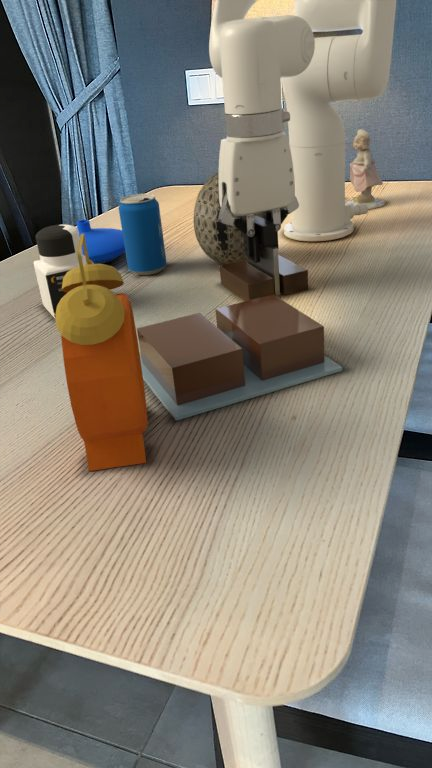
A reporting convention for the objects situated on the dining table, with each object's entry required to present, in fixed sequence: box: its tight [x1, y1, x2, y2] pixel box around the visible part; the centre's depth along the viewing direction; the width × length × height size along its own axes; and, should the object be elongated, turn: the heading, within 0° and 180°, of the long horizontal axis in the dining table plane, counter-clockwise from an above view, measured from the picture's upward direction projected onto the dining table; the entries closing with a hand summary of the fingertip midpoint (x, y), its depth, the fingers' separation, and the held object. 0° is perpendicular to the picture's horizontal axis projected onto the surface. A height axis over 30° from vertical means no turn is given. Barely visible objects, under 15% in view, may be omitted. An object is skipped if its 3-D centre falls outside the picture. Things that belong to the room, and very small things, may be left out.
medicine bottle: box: [33, 224, 94, 319], centre depth 97 cm, size 7×7×12 cm
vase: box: [76, 219, 126, 264], centre depth 118 cm, size 16×16×7 cm
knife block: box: [219, 254, 309, 302], centre depth 100 cm, size 10×10×3 cm
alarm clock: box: [54, 234, 148, 472], centre depth 62 cm, size 13×6×20 cm, turn 7°
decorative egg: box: [193, 171, 265, 265], centre depth 108 cm, size 12×12×15 cm
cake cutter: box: [246, 216, 281, 297], centre depth 98 cm, size 2×9×10 cm, turn 23°
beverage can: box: [118, 193, 168, 276], centre depth 109 cm, size 6×6×12 cm
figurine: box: [345, 128, 386, 210], centre depth 135 cm, size 11×10×15 cm
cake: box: [136, 295, 343, 422], centre depth 77 cm, size 20×16×5 cm
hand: (261, 257), depth 98 cm, fingers closed on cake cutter, 2 cm apart
